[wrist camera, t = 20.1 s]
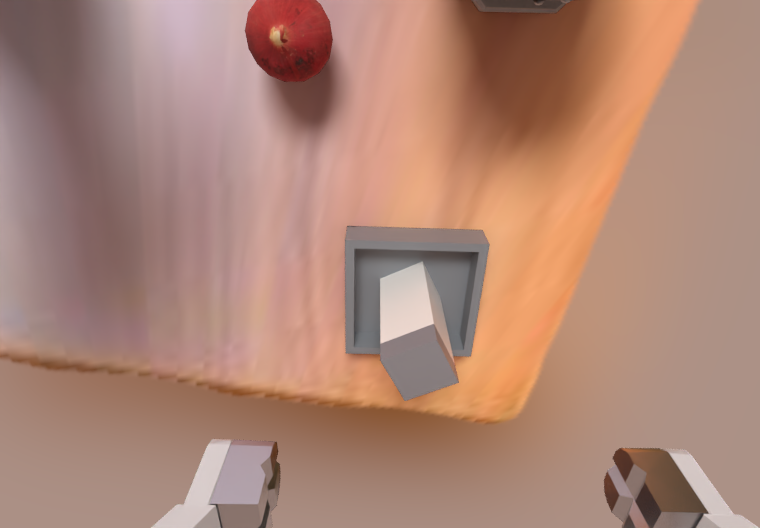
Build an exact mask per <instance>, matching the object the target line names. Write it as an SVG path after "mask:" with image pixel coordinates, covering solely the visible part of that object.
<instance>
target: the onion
mask: <svg viewBox="0 0 760 528" xmlns="http://www.w3.org/2000/svg"><path fill="white" fill-rule="evenodd" d="M245 33H246V38H247V43H248V47H249V50H250V52H251V54H252V55H253V57H254V59H255V61H256V62H257V64H258V65H259V66H260V67H261V68H262V69H263V70H264V71H265V72H266V73H267V74H268V75H270V76H272V77H275V78H277V79H280V80H282V81H284V82H298V81H305V80H307V79H309V78H311V77H313V76H315V75H316V74H318V73H319V72H320V71H321V69H322V68H323V67H324V65H325V64H326V62H327V61H328V59H329V57H330V52H331V46H332V41H333V39H332V32H331V26H330V21H329V19H328V17H327V15H326V13H325V11H324V10H323V8H322V6H321V4H320V3H318V2H317V1H316V0H256V2H255V3H254V5H253V6H252V8H251V9H250V11H249V12H248V17H247V23H246V28H245Z"/></svg>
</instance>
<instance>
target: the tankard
mask: <svg viewBox="0 0 760 528" xmlns="http://www.w3.org/2000/svg"><path fill="white" fill-rule="evenodd" d="M471 1H472V2H473V3H474V5H475V6H476V7H477V9H478V10H479V11H481V12H519V13H557V12H558V11H559V10H560V9H561V8H562V7H563V6H564V5H565V4H566V3H569V2H570V1H572V0H471Z"/></svg>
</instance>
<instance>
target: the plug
mask: <svg viewBox="0 0 760 528" xmlns="http://www.w3.org/2000/svg"><path fill="white" fill-rule="evenodd" d="M380 361H381V363H382V364H383V366H384V368H385V369H386V371H387V372H388V374H389V376H390V377H391V379H392V381H393V382H394V384H395V386H396V387H397V389H398V390H399V392H400V394H401V395H402V397H403V399H404V400H405V401H406V400H409V399H412V398H415V397H418V396H421V395H424V394H427V393H430V392H433V391H436V390H439V389H441V388H444V387H447V386H450V385H453V384H456V383H459V381H458V376H457V372H456V367H455V363H454V358H453V354H452V349H451V344H450V340H449V335H448V331H447V326H446V322H445V317H444V312H443V308H442V303H441V299H440V296H439V294H438V292H437V290H436V288H435V286H434V283H433V281H432V279H431V277H430V275H429V273H428V271H427V269H426V267H425V265H424V263H423V261H422V262H420V263H417V264H415V265H412V266H410V267H408V268H405V269H403V270H400V271H398V272H395V273H393V274H390V275H388V276H386V277H383V278H381V279H380Z"/></svg>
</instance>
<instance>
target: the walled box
mask: <svg viewBox="0 0 760 528" xmlns="http://www.w3.org/2000/svg"><path fill="white" fill-rule="evenodd" d="M488 250H489V242H488V240H487V238H486V236H485V234H484V232H483V230H463V229H430V228H397V227H363V226H347V232H346V238H345V312H346V353H351V354H380V279H381V278H383V277H386V276H388V275H390V274H393V273H395V272H398V271H400V270H403V269H405V268H408V267H410V266H412V265H415V264H417V263H420V262H422V261H423V263H424V265H425V267H426V269H427V271H428V273H429V275H430V277H431V279H432V281H433V283H434V286H435V288H436V290H437V292H438V294H439V296H440V299H441V303H442V308H443V312H444V317H445V322H446V326H447V331H448V335H449V340H450V344H451V349H452V354H453V356H471V352H472V346H473V340H474V334H475V328H476V322H477V316H478V310H479V304H480V298H481V292H482V286H483V280H484V274H485V268H486V262H487V256H488Z"/></svg>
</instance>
